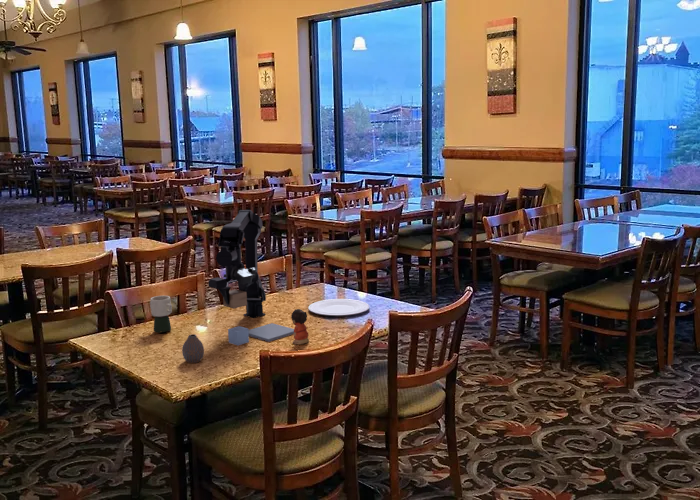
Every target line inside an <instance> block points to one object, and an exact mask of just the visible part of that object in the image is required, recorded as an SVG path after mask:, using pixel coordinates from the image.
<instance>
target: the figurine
mask: <svg viewBox="0 0 700 500" xmlns="http://www.w3.org/2000/svg"><path fill="white" fill-rule="evenodd" d="M290 318H291V321H292V324H293V325H294V328H293V329H294V334H293V339H294V340H293V341H292V344H294V345H303V344H307V343H309V342H310V339H309V332H308V330H307V329H308V327H307V326H306V324H305V323H306V322H307V319H308V313H307V311H304V310H302V309H300V308H297V309H294V310H293V311H292V313H291V317H290Z"/></svg>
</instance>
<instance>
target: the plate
mask: <svg viewBox="0 0 700 500" xmlns="http://www.w3.org/2000/svg"><path fill="white" fill-rule="evenodd" d="M369 309H370V304H368V303H367V302H365V301H362V300H358V299H349V298H332V299H331V298H330V299H324V300H318V301H315V302H313V303H311V304H309V306H308V310H309V311H310V312H311V313H313V314H317V315H320V316H326V317H335V318H337V317H338V318H339V317H351V316H355V315H358V314H359V315H360V314H362V313H365V312H367V311H368V310H369Z"/></svg>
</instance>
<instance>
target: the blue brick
mask: <svg viewBox="0 0 700 500" xmlns="http://www.w3.org/2000/svg"><path fill="white" fill-rule="evenodd" d="M248 330H249V328H247V327H244V326H240V325H238V326H235V327H230V328H228V329H227V331H228V332H227V335H228V343H229V344H232V345H236V346H241V345H244V344H246V343H247V344H248V343H250V340H249V338H250V336H249V333H248Z"/></svg>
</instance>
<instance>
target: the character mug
mask: <svg viewBox="0 0 700 500" xmlns="http://www.w3.org/2000/svg"><path fill="white" fill-rule="evenodd" d="M149 306H150V307H149V308H150V311H151V316H152V317H154V320H153V332H155V333H167V332H169V331H172V326H171V320H170V317H169V315H170V314H171V313H173V307H172V306H173V305H172V301H171V296H169V295H157V296H153V297H150V300H149Z"/></svg>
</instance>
